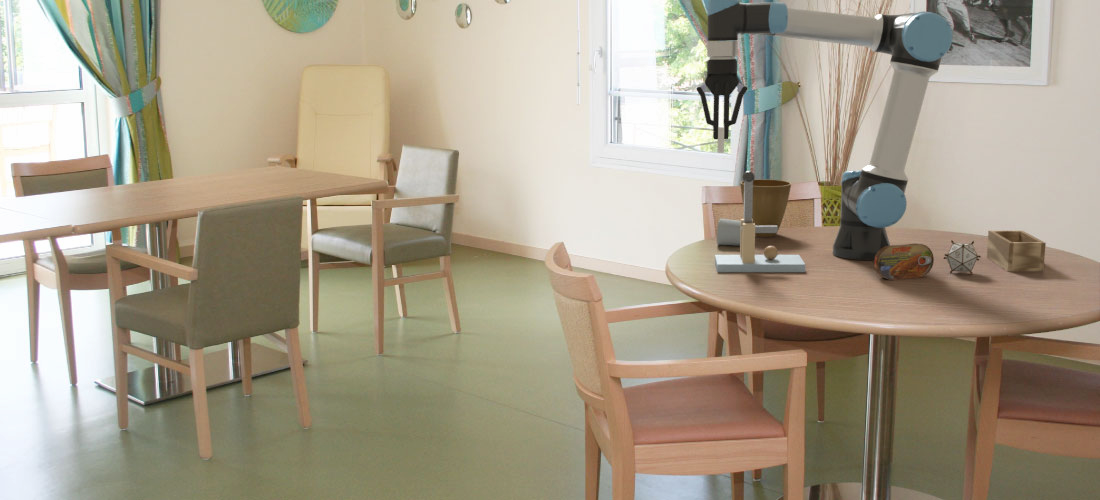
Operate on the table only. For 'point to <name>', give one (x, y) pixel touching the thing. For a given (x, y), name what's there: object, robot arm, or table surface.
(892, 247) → the tin
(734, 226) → the ceramic mug
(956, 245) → the game die
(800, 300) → the table surface
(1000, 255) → the box
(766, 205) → the plant pot
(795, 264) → the base
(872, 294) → the table surface
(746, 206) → the lever
